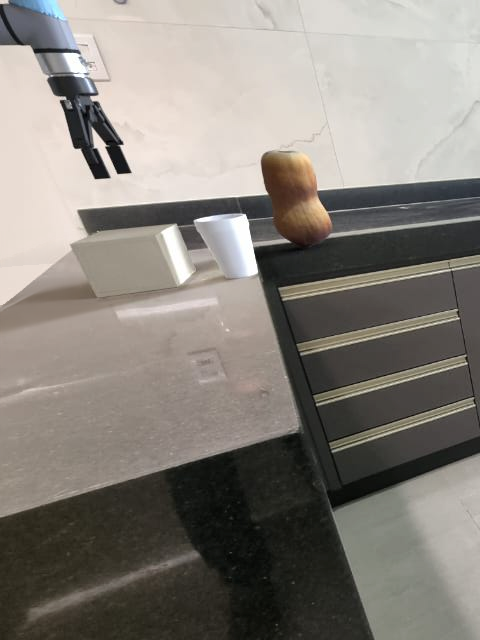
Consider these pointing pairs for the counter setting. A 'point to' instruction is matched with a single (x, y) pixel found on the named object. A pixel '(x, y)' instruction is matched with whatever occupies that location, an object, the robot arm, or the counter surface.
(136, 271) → the beige rounded box
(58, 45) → the robot arm
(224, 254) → the foam cup
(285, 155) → the butternut squash
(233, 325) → the counter surface
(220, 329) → the counter surface
